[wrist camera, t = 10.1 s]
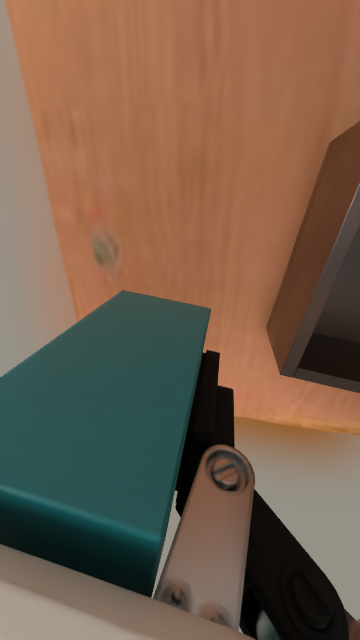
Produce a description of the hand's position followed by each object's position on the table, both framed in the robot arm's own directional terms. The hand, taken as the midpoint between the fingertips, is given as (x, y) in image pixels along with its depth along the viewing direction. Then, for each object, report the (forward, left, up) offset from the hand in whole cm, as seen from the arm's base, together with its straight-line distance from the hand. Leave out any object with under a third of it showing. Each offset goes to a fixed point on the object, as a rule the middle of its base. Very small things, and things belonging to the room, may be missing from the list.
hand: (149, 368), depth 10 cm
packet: (0, 0, -1) cm, 1 cm away
